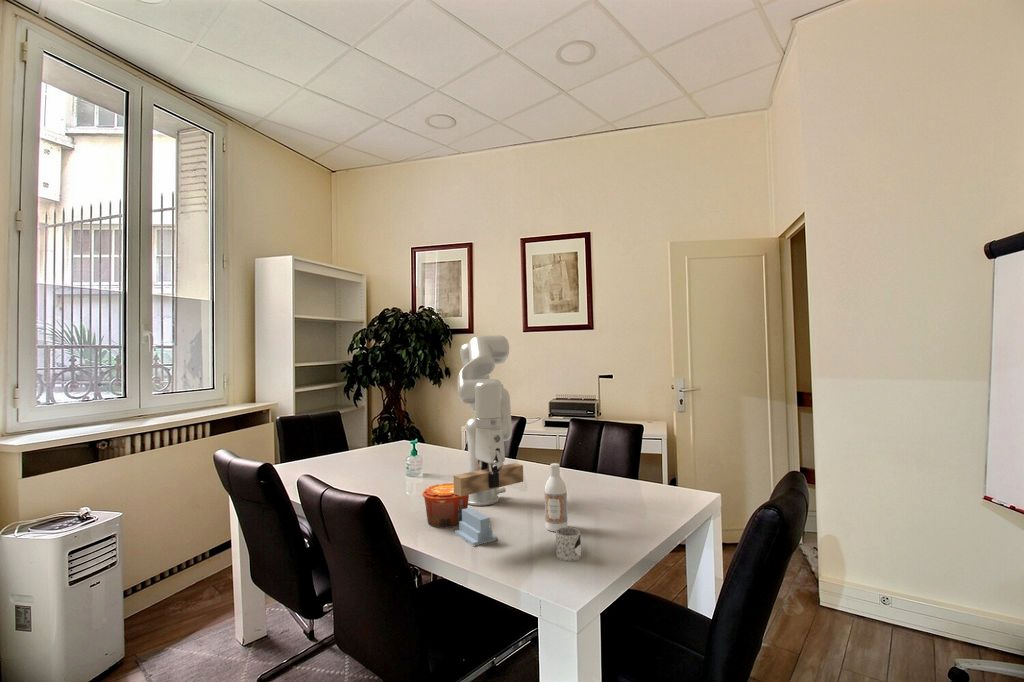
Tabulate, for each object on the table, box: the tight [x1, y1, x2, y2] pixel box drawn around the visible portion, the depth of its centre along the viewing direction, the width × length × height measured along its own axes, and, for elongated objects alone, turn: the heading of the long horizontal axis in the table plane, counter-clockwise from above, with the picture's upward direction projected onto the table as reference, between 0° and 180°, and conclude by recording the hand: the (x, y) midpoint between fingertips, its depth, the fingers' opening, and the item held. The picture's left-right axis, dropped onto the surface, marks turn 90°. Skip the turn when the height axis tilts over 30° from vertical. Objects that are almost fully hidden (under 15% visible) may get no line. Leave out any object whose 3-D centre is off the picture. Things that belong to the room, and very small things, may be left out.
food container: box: [422, 482, 469, 529], centre depth 159 cm, size 16×16×11 cm
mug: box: [555, 526, 582, 562], centre depth 131 cm, size 10×7×7 cm, turn 171°
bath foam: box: [544, 462, 569, 533], centre depth 150 cm, size 7×7×20 cm
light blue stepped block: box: [454, 507, 498, 547], centre depth 144 cm, size 8×12×7 cm, turn 33°
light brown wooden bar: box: [452, 462, 524, 496], centre depth 141 cm, size 22×4×5 cm, turn 126°
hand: (489, 484), depth 141 cm, fingers closed on light brown wooden bar, 4 cm apart
